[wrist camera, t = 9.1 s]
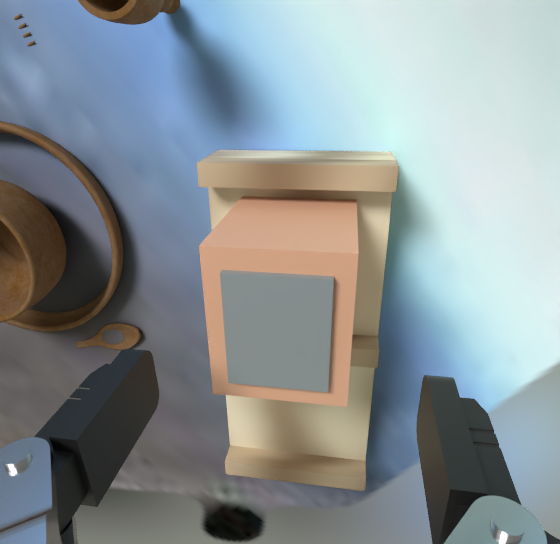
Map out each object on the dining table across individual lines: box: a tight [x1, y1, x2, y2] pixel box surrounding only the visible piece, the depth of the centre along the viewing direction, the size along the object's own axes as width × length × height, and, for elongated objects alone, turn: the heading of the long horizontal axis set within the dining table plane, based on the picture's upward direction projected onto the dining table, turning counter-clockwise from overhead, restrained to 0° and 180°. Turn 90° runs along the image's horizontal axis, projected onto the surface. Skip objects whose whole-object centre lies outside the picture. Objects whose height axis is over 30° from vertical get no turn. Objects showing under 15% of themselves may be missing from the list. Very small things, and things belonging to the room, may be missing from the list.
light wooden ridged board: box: [197, 150, 399, 491], centre depth 22 cm, size 8×18×3 cm, turn 1°
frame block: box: [199, 196, 359, 407], centre depth 17 cm, size 5×6×6 cm
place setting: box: [0, 0, 180, 350], centre depth 21 cm, size 18×20×6 cm
